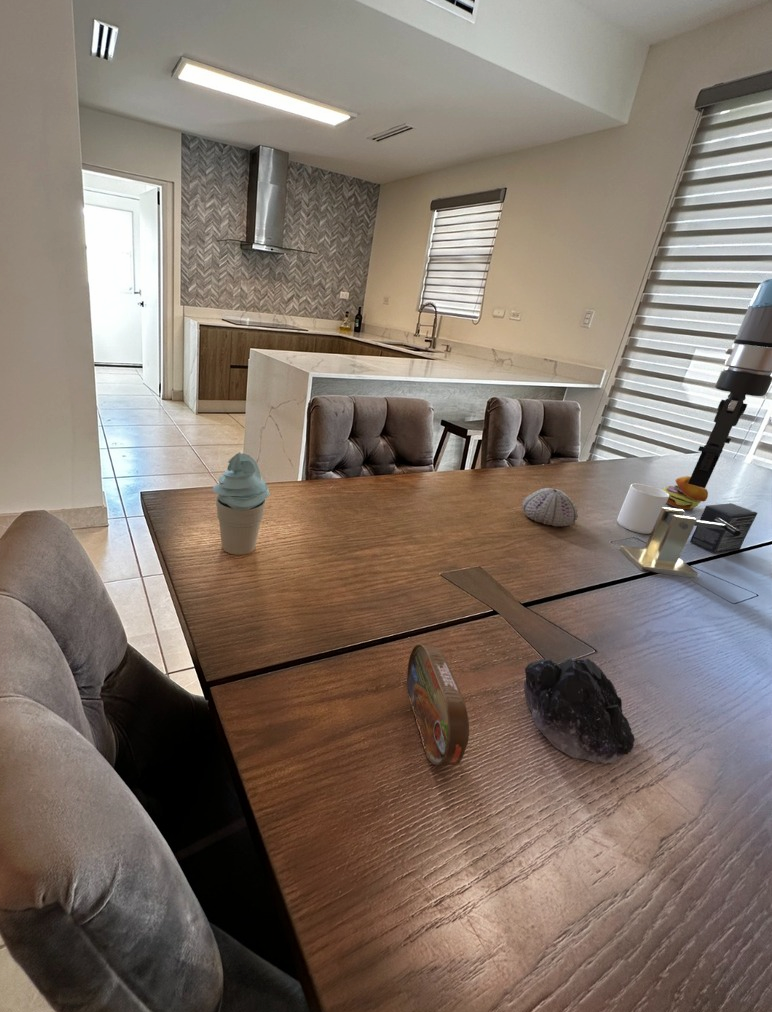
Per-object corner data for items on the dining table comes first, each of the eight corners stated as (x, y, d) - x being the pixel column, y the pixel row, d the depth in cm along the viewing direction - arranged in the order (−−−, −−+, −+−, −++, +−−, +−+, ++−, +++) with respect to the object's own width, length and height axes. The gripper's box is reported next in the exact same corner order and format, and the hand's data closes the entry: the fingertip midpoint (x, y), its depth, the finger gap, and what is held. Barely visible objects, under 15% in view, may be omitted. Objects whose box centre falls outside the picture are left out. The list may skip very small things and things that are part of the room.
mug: (660, 526, 127) (676, 490, 123) (648, 538, 119) (665, 499, 115) (625, 514, 132) (639, 478, 128) (611, 524, 124) (626, 487, 120)
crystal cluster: (637, 729, 63) (661, 666, 60) (619, 792, 53) (646, 720, 50) (535, 678, 71) (551, 620, 68) (502, 724, 61) (519, 659, 58)
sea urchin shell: (581, 534, 116) (592, 505, 113) (525, 525, 118) (534, 496, 115) (564, 512, 128) (574, 485, 125) (513, 504, 130) (522, 477, 127)
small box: (713, 537, 124) (730, 501, 120) (740, 550, 118) (760, 513, 114) (687, 541, 120) (704, 504, 116) (714, 554, 114) (733, 515, 110)
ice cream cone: (274, 542, 96) (281, 449, 88) (243, 567, 86) (248, 465, 79) (232, 528, 99) (236, 437, 92) (198, 550, 90) (200, 451, 82)
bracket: (670, 556, 110) (693, 507, 106) (696, 578, 102) (722, 526, 97) (619, 550, 111) (639, 500, 106) (640, 570, 102) (664, 518, 97)
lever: (718, 526, 105) (722, 516, 104) (738, 539, 100) (743, 529, 99) (659, 518, 105) (663, 508, 105) (676, 530, 100) (680, 520, 99)
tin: (402, 678, 65) (413, 630, 62) (424, 679, 66) (436, 631, 63) (432, 783, 52) (449, 728, 48) (460, 783, 52) (478, 728, 49)
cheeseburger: (661, 493, 152) (682, 468, 147) (695, 514, 146) (718, 488, 140) (650, 499, 145) (672, 472, 140) (686, 520, 139) (710, 493, 134)
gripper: (727, 365, 97) (685, 461, 105) (717, 370, 80) (669, 485, 88) (774, 371, 93) (727, 471, 101) (775, 378, 75) (718, 499, 83)
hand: (700, 478), depth 94 cm, fingers open, 13 cm apart
